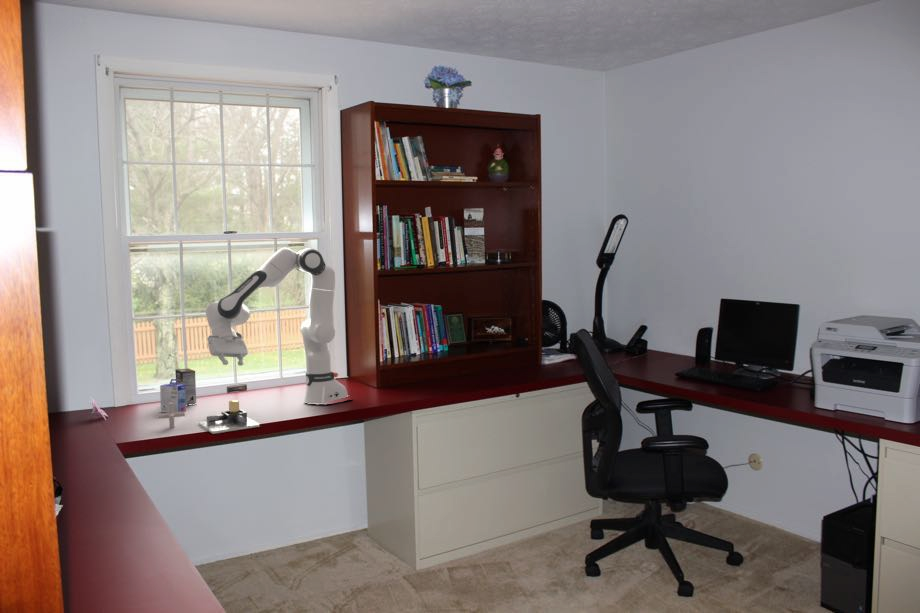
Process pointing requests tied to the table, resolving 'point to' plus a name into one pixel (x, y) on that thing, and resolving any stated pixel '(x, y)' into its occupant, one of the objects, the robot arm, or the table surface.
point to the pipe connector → (171, 415)
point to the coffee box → (187, 384)
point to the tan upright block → (233, 407)
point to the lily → (97, 409)
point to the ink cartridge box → (173, 396)
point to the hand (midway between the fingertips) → (233, 364)
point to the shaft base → (228, 422)
